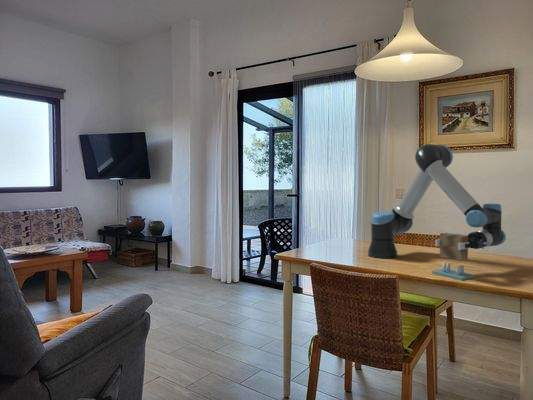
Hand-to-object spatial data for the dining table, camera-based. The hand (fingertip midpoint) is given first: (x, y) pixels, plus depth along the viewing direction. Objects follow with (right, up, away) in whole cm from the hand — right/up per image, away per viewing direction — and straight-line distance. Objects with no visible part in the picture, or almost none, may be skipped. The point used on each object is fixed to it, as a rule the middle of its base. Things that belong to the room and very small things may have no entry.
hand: (447, 244), depth 168 cm
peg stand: (+4, -13, +3) cm, 14 cm away
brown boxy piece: (+4, -6, +3) cm, 7 cm away
